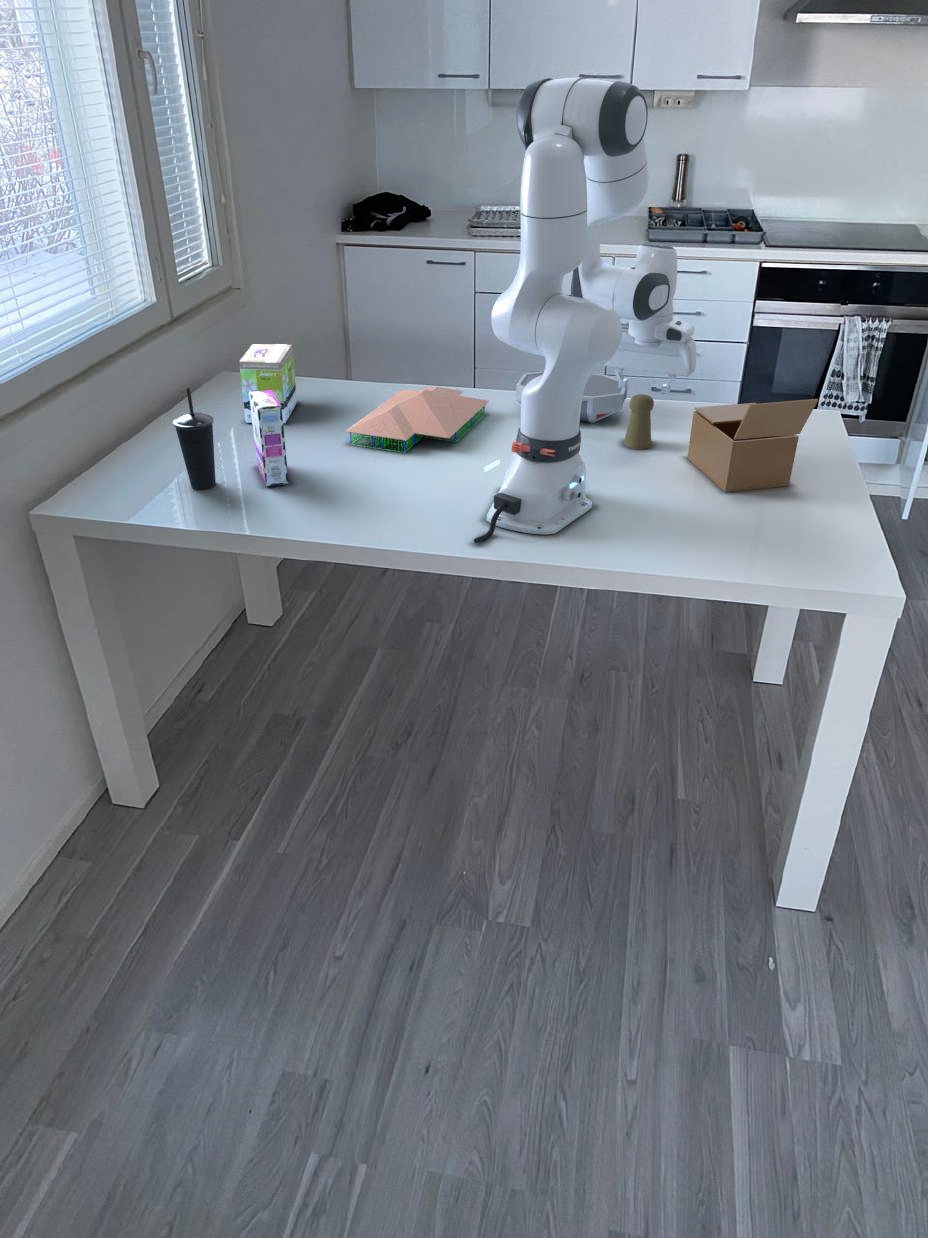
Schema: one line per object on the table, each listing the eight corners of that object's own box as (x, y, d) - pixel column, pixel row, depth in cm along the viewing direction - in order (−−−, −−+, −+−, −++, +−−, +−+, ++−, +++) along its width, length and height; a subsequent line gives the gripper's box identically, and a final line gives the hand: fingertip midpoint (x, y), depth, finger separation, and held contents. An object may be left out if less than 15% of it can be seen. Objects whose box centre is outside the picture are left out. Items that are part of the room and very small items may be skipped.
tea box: (287, 424, 218) (281, 361, 210) (244, 423, 218) (236, 360, 210) (298, 402, 231) (292, 342, 223) (257, 402, 231) (250, 342, 223)
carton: (788, 485, 189) (799, 432, 183) (725, 492, 186) (733, 438, 180) (746, 452, 204) (755, 402, 198) (687, 458, 201) (694, 407, 195)
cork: (654, 441, 209) (659, 393, 203) (647, 451, 204) (652, 402, 199) (628, 437, 211) (632, 389, 205) (620, 446, 207) (624, 398, 201)
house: (492, 410, 226) (493, 377, 222) (441, 459, 200) (441, 422, 196) (406, 399, 233) (405, 366, 229) (345, 445, 207) (343, 409, 203)
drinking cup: (189, 495, 184) (172, 397, 174) (180, 481, 190) (163, 385, 180) (227, 488, 187) (213, 390, 177) (217, 474, 193) (203, 379, 182)
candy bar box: (290, 484, 189) (282, 405, 180) (266, 487, 188) (256, 408, 179) (280, 464, 198) (272, 388, 189) (256, 467, 197) (247, 390, 188)
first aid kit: (511, 421, 220) (617, 431, 214) (512, 390, 216) (620, 399, 210) (527, 397, 234) (627, 406, 229) (528, 368, 230) (630, 376, 225)
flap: (799, 432, 183) (799, 433, 183) (733, 438, 180) (734, 439, 180) (817, 398, 176) (818, 400, 175) (749, 404, 173) (750, 405, 173)
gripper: (597, 323, 195) (593, 388, 203) (694, 334, 188) (686, 401, 196) (606, 316, 200) (602, 379, 208) (702, 326, 193) (693, 392, 200)
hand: (643, 390), depth 202 cm, fingers open, 8 cm apart
